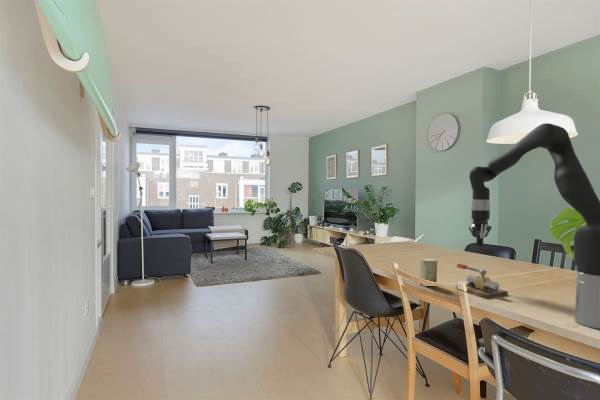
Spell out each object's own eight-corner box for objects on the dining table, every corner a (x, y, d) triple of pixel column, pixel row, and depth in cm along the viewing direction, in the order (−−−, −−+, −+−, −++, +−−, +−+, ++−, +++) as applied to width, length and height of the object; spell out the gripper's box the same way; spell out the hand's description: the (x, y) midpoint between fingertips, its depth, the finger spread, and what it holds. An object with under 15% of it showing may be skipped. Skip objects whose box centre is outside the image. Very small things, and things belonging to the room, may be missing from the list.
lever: (487, 274, 144) (488, 270, 144) (483, 274, 143) (483, 271, 143) (460, 266, 157) (460, 263, 157) (456, 267, 156) (456, 263, 156)
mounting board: (507, 294, 143) (507, 291, 143) (485, 298, 137) (485, 294, 137) (478, 286, 156) (478, 282, 155) (456, 289, 150) (456, 285, 150)
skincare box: (425, 287, 152) (426, 260, 152) (419, 284, 156) (420, 258, 156) (437, 286, 154) (438, 260, 153) (431, 283, 158) (431, 258, 158)
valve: (499, 293, 140) (500, 277, 140) (492, 294, 138) (493, 278, 138) (472, 285, 152) (473, 270, 152) (465, 285, 150) (466, 270, 150)
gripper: (483, 209, 162) (482, 244, 162) (463, 209, 157) (462, 245, 157) (497, 209, 155) (496, 246, 155) (478, 209, 150) (477, 248, 150)
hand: (479, 246), depth 156 cm, fingers closed
